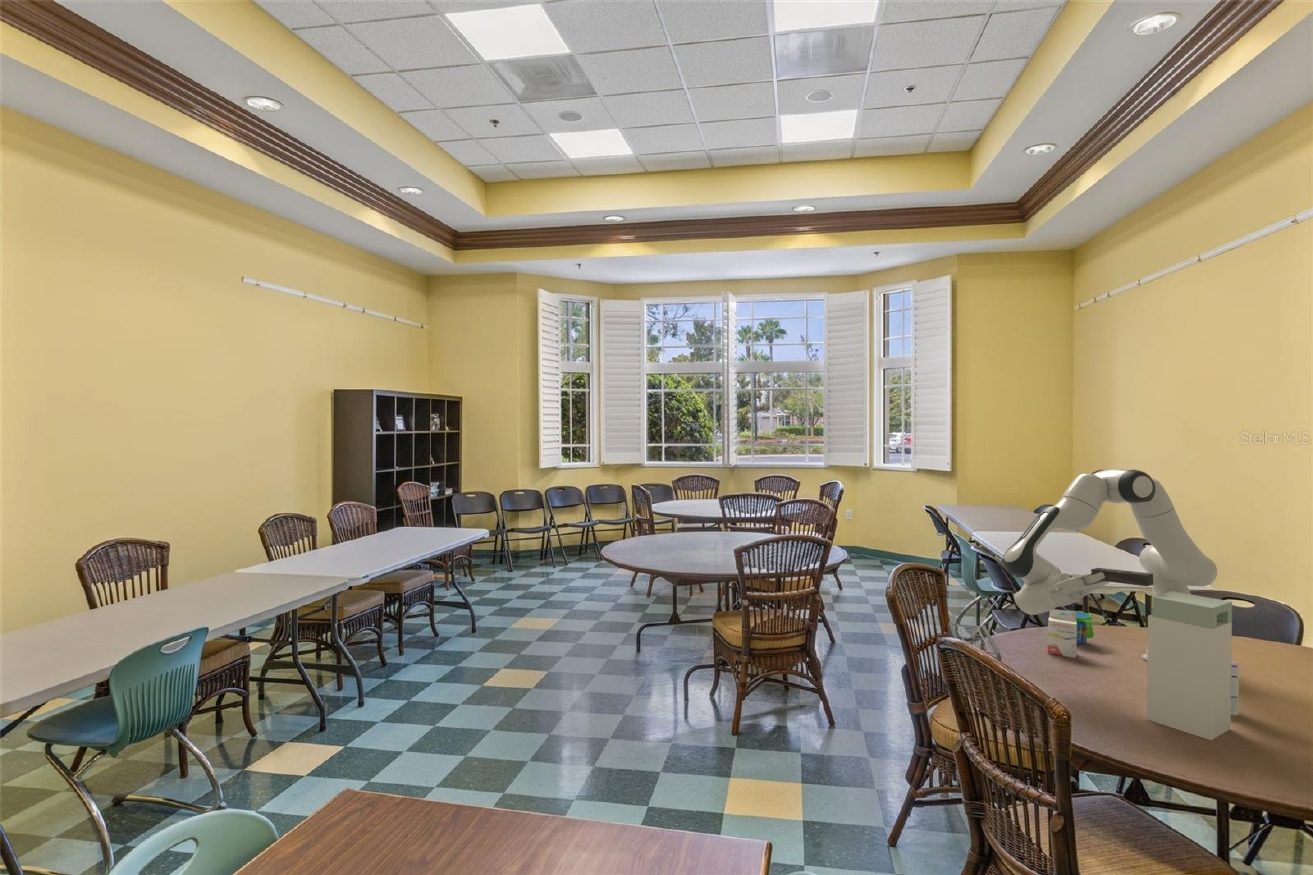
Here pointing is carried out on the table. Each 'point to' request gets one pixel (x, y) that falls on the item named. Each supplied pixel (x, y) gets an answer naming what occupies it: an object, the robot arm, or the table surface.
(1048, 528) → the robot arm
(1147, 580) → the domino bar
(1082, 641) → the snack cup
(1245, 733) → the table surface
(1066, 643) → the ink cartridge box
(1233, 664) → the syrup box
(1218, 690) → the slot stand
